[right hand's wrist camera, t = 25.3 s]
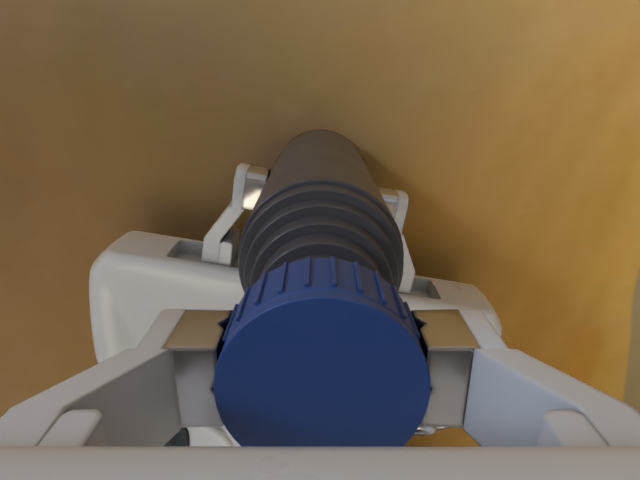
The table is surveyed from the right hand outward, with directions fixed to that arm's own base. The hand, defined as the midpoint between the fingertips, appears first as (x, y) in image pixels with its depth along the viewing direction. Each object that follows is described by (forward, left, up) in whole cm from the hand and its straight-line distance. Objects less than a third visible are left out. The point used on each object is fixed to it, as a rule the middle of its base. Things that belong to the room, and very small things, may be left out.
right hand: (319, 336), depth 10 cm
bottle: (0, 0, -17) cm, 17 cm away
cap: (0, 0, +2) cm, 2 cm away
